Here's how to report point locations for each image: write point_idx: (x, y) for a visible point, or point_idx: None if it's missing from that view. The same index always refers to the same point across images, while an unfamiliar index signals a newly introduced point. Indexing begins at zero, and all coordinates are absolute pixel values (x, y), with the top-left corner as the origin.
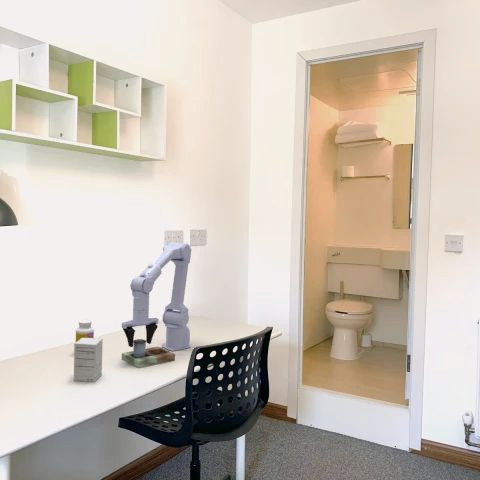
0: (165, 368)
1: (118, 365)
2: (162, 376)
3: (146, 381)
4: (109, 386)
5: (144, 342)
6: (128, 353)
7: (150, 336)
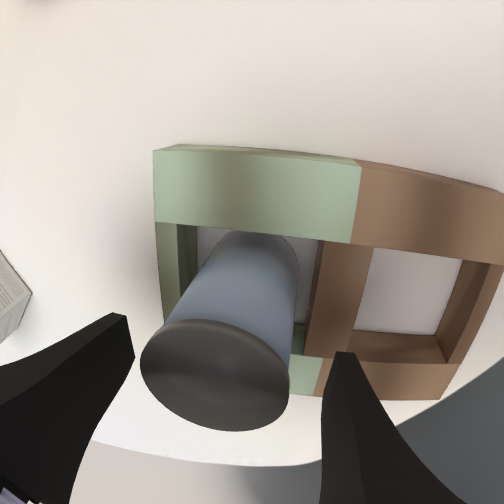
0: (298, 417)
1: (112, 240)
2: (224, 446)
3: (153, 433)
4: None
5: (234, 427)
6: (193, 198)
7: (322, 468)
